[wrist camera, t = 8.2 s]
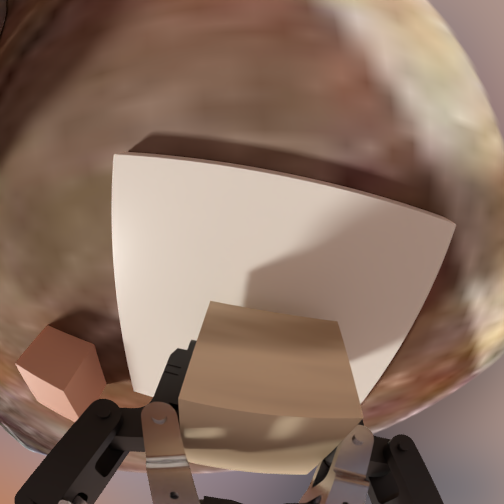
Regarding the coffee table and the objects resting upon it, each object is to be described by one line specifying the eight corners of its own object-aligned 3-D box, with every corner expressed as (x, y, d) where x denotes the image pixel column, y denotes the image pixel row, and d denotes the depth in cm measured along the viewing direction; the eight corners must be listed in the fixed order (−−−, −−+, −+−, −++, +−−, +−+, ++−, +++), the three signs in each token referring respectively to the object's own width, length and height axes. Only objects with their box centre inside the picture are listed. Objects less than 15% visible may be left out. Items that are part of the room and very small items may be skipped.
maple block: (210, 300, 11) (178, 398, 7) (337, 321, 11) (363, 417, 7) (202, 380, 13) (183, 460, 9) (301, 395, 13) (306, 474, 9)
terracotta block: (48, 324, 17) (15, 363, 12) (94, 343, 17) (63, 391, 12) (63, 364, 19) (38, 401, 14) (106, 383, 19) (84, 426, 14)
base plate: (126, 151, 11) (113, 154, 10) (444, 217, 11) (456, 224, 10) (139, 379, 18) (133, 391, 17) (343, 411, 18) (345, 422, 17)
